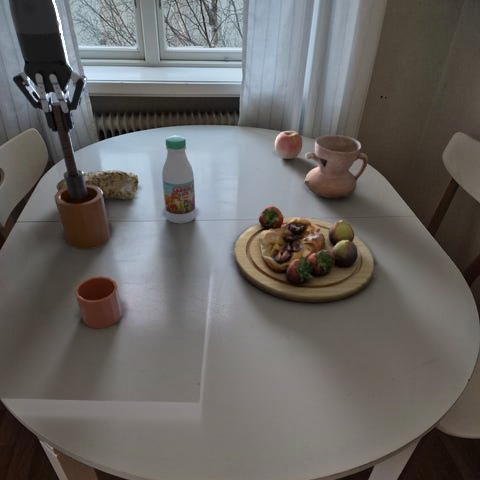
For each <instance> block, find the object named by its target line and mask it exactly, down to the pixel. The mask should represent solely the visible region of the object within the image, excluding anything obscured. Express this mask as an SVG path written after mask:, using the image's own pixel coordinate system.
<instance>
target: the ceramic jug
mask: <svg viewBox="0 0 480 480" xmlns="http://www.w3.org/2000/svg"><path fill="white" fill-rule="evenodd" d="M361 149H362V144H361V142H360V141H359V140H357V139H356V138H354V137H351V136H347V135H341V134H325V135H321V136H319V137H317V138H316V139H315V142H314V152H312V151H309V152H307V153H305V154H304V155H305V158H306V160H311V159H312V160H314V161H315V162H317V165H318V166H316V167H314V168H313V169H311V170H310V171H308V173H307V174H306V177H305V179H304V184H305V186H306V187H307V189H308V191H310V192H311V193H312V194H315V195H317V196H319V197H321V198H326V199H340V198H341V199H342V198H344V197H347V196H350V195H351V194H353V193H354V192H355V190H356V189H357V184H358V182H357V181H358V179H359V178H360V177H361V176H362V175H363V173H364V171H365V170H366V168H367V166H368V162H369V159H368V156H367V154H366V153H364V152H361ZM359 159H361V160H362V161H361V164H360V167H359V168H358V170H357V171H356V173H355V174H353V173H352V172H351V171H350V169H351V168H352V166H353V164H354V163H355V162H356V161H357V160H359Z"/></svg>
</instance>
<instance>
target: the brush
mask: <svg viewBox="0 0 480 480" xmlns="http://www.w3.org/2000/svg"><path fill="white" fill-rule="evenodd" d="M50 105H51V109H52V113H53V117H54V121H55V125H56V129H57V136H58V141H59V145H60V149H61V152H62V153H61V154H62V157H63V160H64V164H65V165H64V166H65V169H66V171H65V172H64V173H63V179H65V183H66V187H67V190H68V194H69V197H70V198H71V199H83V198H85V197H87V195H88V193H87V189H86V184H85V180H84V175H83V173H84V172H83V171H82V170H80V169H78V165H77V160H76V156H75V152H74V147H73V144H72V139H71V134H70V132H66V129H65V125H64V120H63V116H62V113H63V111H62V108H61V105H60V102H59V101H54V102H52V103H51V104H50Z"/></svg>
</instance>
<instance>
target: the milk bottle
mask: <svg viewBox="0 0 480 480" xmlns="http://www.w3.org/2000/svg"><path fill="white" fill-rule="evenodd" d="M165 146H166V147H165V149H166V150H167V151H166V152H167V153H166V157H165V161H164V164H163V167H162V174H161V178H162V179H161V180H162V191H163V201H164V203H163V204H164V213H165V218H166V219H167V221H168V222H171V223H173V224H174V223H175V224H186V223H190V222H192V221H193V220H194V219H195V218H196V194H195V177H194V171H193V167H192V164H191V163H190V161H189V159H188V157H187V153H186V150H187V140H186V138H185V137H183V136H181V135H171V136H168V137H166V139H165Z"/></svg>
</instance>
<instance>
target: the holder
mask: <svg viewBox="0 0 480 480" xmlns="http://www.w3.org/2000/svg"><path fill="white" fill-rule="evenodd" d="M74 294H75V298H76V300H77V304H78V305H77V306H78V307H79V308H78V309H79V312H80V314H81V318H82V321H83V323H84V324H85V325H86V326H88V327H89V328H93V329H105V328H109V327H112V326H114V325H115V324H117V323H118V322H119V321H120V319H122V316H123V306H122V302H121V297H120V291H119V287H118V284H117V282H116V281H115V280H114V279H112V278H110V277H107V276H103V275H102V276H93V277H92V276H91V277H89V278H86V279H84V280H82V281H81V282H80V283H79V284H77V286H76V288H75V289H74Z"/></svg>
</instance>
